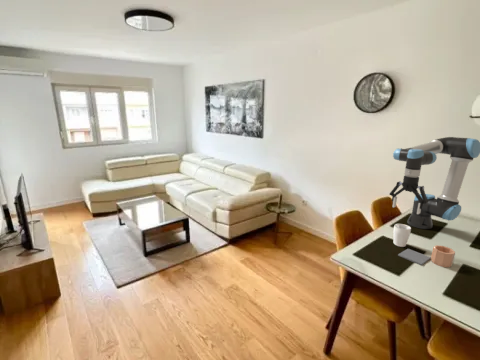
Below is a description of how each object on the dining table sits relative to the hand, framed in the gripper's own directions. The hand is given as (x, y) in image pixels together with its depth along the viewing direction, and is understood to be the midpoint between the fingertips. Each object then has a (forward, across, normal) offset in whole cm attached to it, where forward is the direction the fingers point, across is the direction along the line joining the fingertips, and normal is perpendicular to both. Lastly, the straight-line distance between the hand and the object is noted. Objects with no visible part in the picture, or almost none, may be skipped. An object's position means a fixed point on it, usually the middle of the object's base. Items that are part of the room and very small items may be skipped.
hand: (405, 210), depth 157 cm
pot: (+23, +23, -3) cm, 32 cm away
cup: (+23, 0, 0) cm, 23 cm away
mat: (+23, +12, -9) cm, 27 cm away
